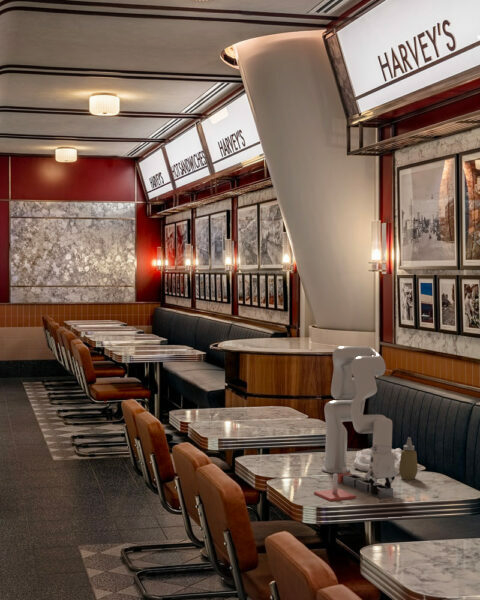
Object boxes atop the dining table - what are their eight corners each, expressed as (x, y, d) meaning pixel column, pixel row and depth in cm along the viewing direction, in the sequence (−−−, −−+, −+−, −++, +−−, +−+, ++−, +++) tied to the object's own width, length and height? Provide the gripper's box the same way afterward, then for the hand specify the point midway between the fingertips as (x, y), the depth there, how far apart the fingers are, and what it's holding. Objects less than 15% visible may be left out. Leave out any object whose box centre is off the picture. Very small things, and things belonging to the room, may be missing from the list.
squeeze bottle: (416, 476, 388) (417, 436, 387) (418, 481, 380) (419, 439, 379) (397, 476, 389) (399, 435, 388) (399, 480, 381) (400, 438, 380)
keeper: (313, 494, 353) (314, 471, 353) (338, 491, 359) (339, 469, 359) (330, 501, 343) (331, 478, 342) (356, 498, 348) (356, 475, 348)
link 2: (355, 488, 364) (355, 480, 364) (367, 487, 367) (367, 478, 367) (367, 493, 357) (367, 484, 357) (379, 491, 360) (379, 483, 360)
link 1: (343, 483, 372) (343, 475, 372) (354, 482, 375) (355, 474, 375) (354, 488, 365) (354, 479, 365) (366, 486, 368) (366, 478, 368)
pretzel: (405, 479, 390) (405, 465, 389) (351, 477, 395) (351, 463, 394) (408, 458, 417) (408, 445, 416) (357, 456, 422) (357, 443, 421)
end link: (368, 493, 356) (368, 485, 356) (380, 492, 359) (380, 483, 359) (380, 498, 349) (380, 489, 349) (392, 496, 352) (393, 488, 352)
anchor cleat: (334, 480, 377) (335, 467, 376) (348, 479, 380) (348, 465, 380) (340, 483, 373) (340, 468, 373) (353, 481, 376) (354, 467, 376)
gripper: (370, 452, 346) (368, 498, 347) (405, 449, 354) (403, 493, 355) (358, 448, 353) (357, 493, 353) (393, 445, 361) (392, 489, 361)
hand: (380, 493), depth 354 cm, fingers closed on end link, 6 cm apart
